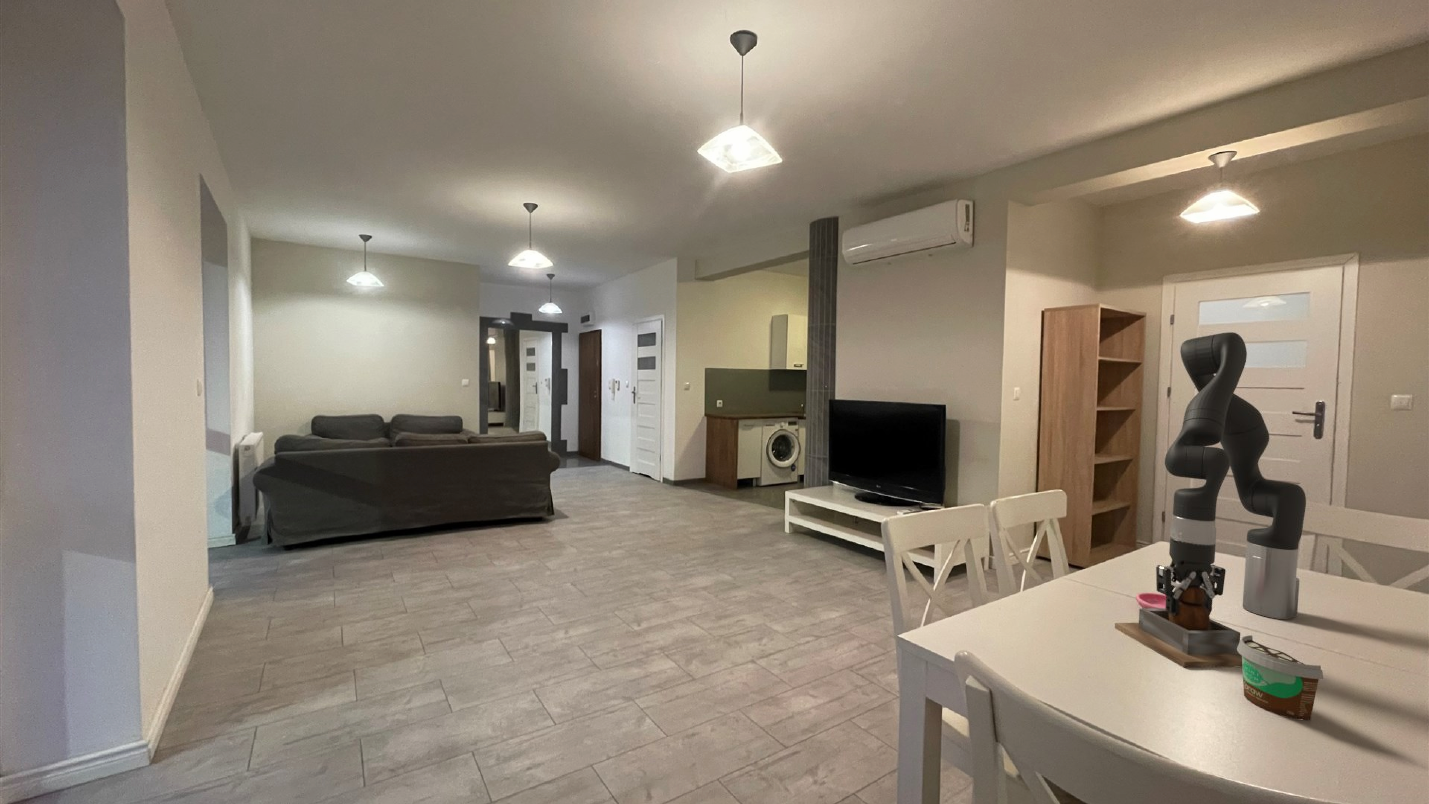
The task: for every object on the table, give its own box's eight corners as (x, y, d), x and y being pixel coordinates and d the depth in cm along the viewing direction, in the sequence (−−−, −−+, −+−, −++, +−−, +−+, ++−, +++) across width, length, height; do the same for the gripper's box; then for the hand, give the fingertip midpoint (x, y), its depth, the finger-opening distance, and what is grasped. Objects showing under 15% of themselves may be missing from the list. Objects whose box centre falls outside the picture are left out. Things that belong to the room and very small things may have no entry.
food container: (1215, 686, 107) (1219, 634, 107) (1245, 685, 108) (1249, 633, 107) (1287, 726, 95) (1290, 668, 94) (1320, 725, 95) (1324, 667, 95)
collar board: (1187, 627, 133) (1189, 603, 133) (1267, 666, 115) (1269, 638, 115) (1114, 628, 132) (1116, 603, 132) (1184, 667, 114) (1185, 639, 114)
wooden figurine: (1200, 632, 125) (1203, 565, 124) (1213, 644, 120) (1216, 574, 119) (1163, 628, 127) (1166, 562, 127) (1174, 639, 122) (1177, 570, 121)
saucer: (1175, 605, 147) (1176, 593, 147) (1212, 626, 134) (1213, 613, 134) (1124, 602, 148) (1124, 590, 148) (1156, 623, 136) (1156, 610, 136)
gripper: (1207, 533, 127) (1203, 606, 127) (1146, 533, 126) (1142, 607, 126) (1240, 543, 119) (1236, 621, 120) (1176, 543, 118) (1172, 621, 119)
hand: (1188, 613), depth 123 cm, fingers closed on wooden figurine, 6 cm apart
